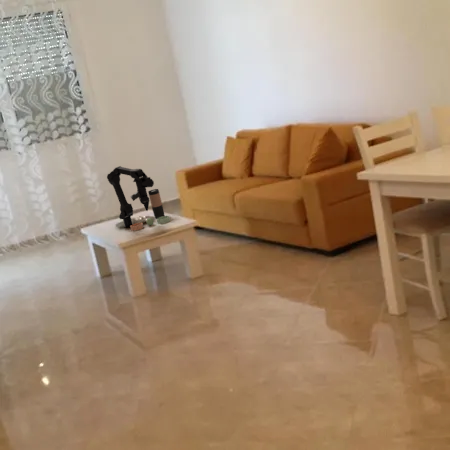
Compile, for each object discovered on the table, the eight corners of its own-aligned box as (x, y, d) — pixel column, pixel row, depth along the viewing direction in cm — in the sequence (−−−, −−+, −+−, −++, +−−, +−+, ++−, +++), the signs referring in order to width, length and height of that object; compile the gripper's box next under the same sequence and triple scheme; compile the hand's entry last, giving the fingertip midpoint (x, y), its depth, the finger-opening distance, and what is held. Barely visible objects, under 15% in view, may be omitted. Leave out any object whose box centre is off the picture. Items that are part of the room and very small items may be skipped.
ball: (146, 226, 484) (144, 219, 482) (152, 223, 486) (150, 216, 485) (149, 226, 479) (147, 219, 478) (155, 224, 482) (153, 217, 481)
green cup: (156, 223, 485) (155, 219, 485) (166, 219, 489) (165, 215, 489) (161, 224, 478) (160, 219, 478) (171, 220, 483) (170, 216, 482)
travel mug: (154, 217, 505) (148, 190, 501) (164, 214, 506) (158, 188, 501) (154, 219, 498) (148, 192, 493) (165, 217, 498) (158, 190, 494)
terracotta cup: (129, 229, 483) (128, 225, 482) (139, 226, 487) (138, 222, 486) (134, 231, 476) (133, 226, 475) (145, 227, 480) (144, 223, 479)
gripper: (128, 188, 484) (134, 209, 488) (130, 192, 466) (136, 214, 470) (144, 184, 485) (149, 205, 489) (146, 188, 468) (152, 210, 471)
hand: (146, 209), depth 480 cm, fingers open, 9 cm apart
